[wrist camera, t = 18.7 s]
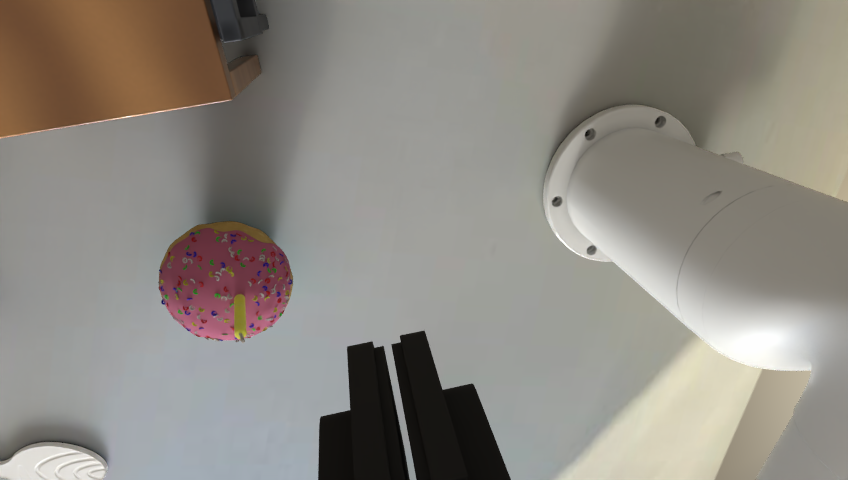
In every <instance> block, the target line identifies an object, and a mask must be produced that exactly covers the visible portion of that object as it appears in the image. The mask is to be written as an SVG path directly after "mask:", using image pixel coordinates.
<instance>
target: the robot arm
mask: <svg viewBox="0 0 848 480" xmlns="http://www.w3.org/2000/svg"><path fill="white" fill-rule="evenodd" d="M587 130H588V133H587V135H585V132H586V131H587ZM554 197H556V198H555V200H553V201H552V199H553V198H554ZM543 204H544V209H545V214H546V218H547V220H548V222H549V225H550V227H551V229H552V230H553V232H554V233H555V235H556V236H557V237H558V239H559V240H560V241H561V242H562V243H564V244H565V245H566V247H568V248H569V249H570V250H572V251H573V252H575V253H576V254H578V255H580V256H582V257H585V258H587V259H591V260H597V261H613V262H614V263H615V264H617V265H618V266H619V267H620V268H621V269H622V270H623V271H624V272H626V273H627V274H628V275H629V276H630V277H631V278H632V279H634V280H635V281H636V282H637V283H638V284H639V285H640V286H641V287H643V288H644V289H645V290H646V291H647V292H648V293H649V294H650V295H652V296H653V297H654V298H655V299H656V300H657V301H658V302H660V303H661V304H662V305H663V306H664V307H665V308H666V309H667V310H669V311H670V312H671V313H672V314H673V315H674V316H675V317H677V318H678V319H679V320H680V321H681V322H682V323H683V324H684V325H686V326H687V327H688V328H689V329H690V330H691V331H693V332H694V333H695V334H696V335H697V336H698V337H700V338H701V339H702V340H703V341H704V342H705V343H707V344H708V345H709V346H710V347H712V348H713V349H714V350H716V351H717V352H719V353H720V354H722V355H724V356H726V357H728V358H729V359H731V360H734V361H736V362H739V363H742V364H745V365H748V366H751V367H756V368H762V369H771V370H782V371H804V370H805V371H806V370H811V375H810V378H809V381H808V384H807V386H806V388H805V390H804V392H803V394H802V396H801V397H800V399H799V401H798V403H797V405H796V406H795V408H794V412H793V416H792V418H791V420H790V421H789V423H788V425H787V426H786V428H785V430H784V431H783V433H782V435H781V437H780V438H779V440H778V442H777V443H776V445H775V447H774V448H773V450H772V452H771V453H770V455H769V457H768V458H767V460H766V462H765V463H764V465H763V467H762V468H761V470H760V472H759V474H758V475H757V477H756V479H755V480H848V202H846V201H843V200H840V199H837V198H834V197H832V196H829V195H826V194H824V193H821V192H818V191H815V190H813V189H810V188H807V187H804V186H801V185H799V184H796V183H793V182H791V181H788V180H785V179H783V178H780V177H777V176H774V175H772V174H769V173H766V172H764V171H761V170H758V169H756V168H753V167H750V166H748V165H745V164H743V157H742V155H741V154H740V153H739V152H732V153H726V154H721V155H718V154H715V153H712V152H710V151H707V150H704V149H702V148H699V147H696V145H695V142H694V140H693V138H692V137H691V135H690V133H689V131H688V130H687V129H686V128H685V126H684V125H683V124H682V123H681V122H680V121H679V120H678V119H676V118H675V117H673V116H672V115H670V114H669V113H667V112H664V111H661V110H659V109H656V108H653V107H648V106H644V105H622V106H617V107H612V108H609V109H606V110H604V111H601V112H599V113H597V114H595V115H593V116H592V117H590V118H588V119H586V120H585V121H583V122H582V123H581V124H580V125H579V126H577V127H576V128H575V129H574V130H573V131H572V132H570V134H569V135H568V136H567V137H566V138H565V140H564V141H563V142H562V143H561V144H560V146H559V148H558V149H557V151H556V153H555V154H554V156H553V158H552V160H551V162H550V165H549V168H548V170H547V173H546V177H545V182H544V188H543ZM400 339H401V343H396V344H391V345H392V350H393V355H394V361H395V366H396V371H397V377H398V382H399V388H400V393H401V398H402V404H403V409H404V414H405V420H406V425H407V430H408V436H409V441H410V446H411V452H412V457H413V463H414V468H415V473H416V479H417V480H511V479H510V476H509V474H508V471H507V469H506V466H505V464H504V461H503V458H502V456H501V453H500V451H499V448H498V445H497V443H496V440H495V438H494V435H493V433H492V430H491V427H490V425H489V422H488V420H487V417H486V414H485V412H484V409H483V407H482V404H481V402H480V399H479V396H478V394H477V391H476V389H475V387H474V385H473V384H468V385H463V386H459V387H454V388H450V389H445V390H442V387H441V384H440V381H439V377H438V374H437V370H436V367H435V364H434V360H433V357H432V354H431V350H430V347H429V344H428V340H427V337H426V334H425V331H420V332H415V333H410V334H406V335H401V336H400ZM347 354H348V373H349V391H350V410H349V411H345V412H340V413H336V414H331V415H326V416H322V417H321V418H320V428H319V471H318V480H410V479H409V473H408V467H407V462H406V456H405V450H404V445H403V440H402V435H401V430H400V425H399V420H398V415H397V410H396V405H395V400H394V395H393V390H392V385H391V380H390V375H389V371H388V366H387V361H386V356H385V351H384V346H381V347H377V348H374V345H373V342H367V343H362V344H358V345H353V346H348V347H347Z"/></svg>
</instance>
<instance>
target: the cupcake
mask: <svg viewBox="0 0 848 480" xmlns="http://www.w3.org/2000/svg"><path fill="white" fill-rule="evenodd" d="M159 271H160V272H159V282H158V283H159V290H160V293H161V296H162V298H163V300H162V304H165V305H166V307H167V309H168V311H169V313H170V314H171V315H172V317H173V318H174V320H176V321H177V322H178V323H179V324H181V325H182V326H183V327H184V328H186V329H187V330H188V331H190V332H191V333H192V334H194V335H196V336H198V337H205V338H206V339H207V340H209V339H208V338H210V339H212V340H215V341H223V340H236V342H238V341H239V340H240V341H241V342H242V343H244V342H245V340H244V338H251V336H254V335H256V334H258V333H260V332H262V331H265V330H266V329H267V328H269V327H273V326H272V325H273V324H274V323H275V322H276V321H277V320H278V319H279V318H280V317H281V315H282V314H283V312H284V310H285V308H286V306H287V304H288V302H289V299H290V296H291V291H292V286H293V276H292V272H291V269H290V266H289V262H288V259H287V257H286V255H285V254H284V252H283V251H282V250H281V249H280V248H279V247H278V246H277V245H276V244H275V243H274V242H273V241H272V240H271V239H270V238H269V237H268V236H267V235H266V234H265V233H264V232H262V231H261V230H259V229H256V228H253V227H250V226H248V225H245V224H242V223H239V222H235V221H225V222H216V223H211V224H201V225H197V226H195V227H193V228H192V229H190V230H189V231H187V232H186V233H185V234H183V235H182V236H181V237H179V238H178V239H176V240H175V241H174V242H173V243H172V244H171V245H170V247H169V248H168V250H167V252H166V255H165V257H164V259H163V261H162V263H161V266H160V270H159ZM163 302H164V303H163Z"/></svg>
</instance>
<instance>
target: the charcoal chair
mask: <svg viewBox="0 0 848 480" xmlns="http://www.w3.org/2000/svg"><path fill="white" fill-rule="evenodd" d="M210 3H211V7H212V10H213V14H214V18H215V21H216V25H217V28H218V32H219V36H220V39H221V40H223V42H224V43H228V42H234V41H241V40H244V39H247V38H250V37H253V36H256V35H259V34H262V33H263V30H267V29H269V25H268V21H267V17H266V14H258V10H257V6H256V2H255V0H210Z"/></svg>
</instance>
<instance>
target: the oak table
mask: <svg viewBox="0 0 848 480" xmlns="http://www.w3.org/2000/svg"><path fill="white" fill-rule="evenodd" d="M260 74H261V68H260V64H259V60H258V56H257V55H250V56H244V57H239V58H237V59H235V60H233V61H231V62H230V63H228V64H227V61H226V58H225V54H224V50H223V47H222V43H221V39H220V36H219V32H218V28H217V25H216V21H215V18H214V14H213V10H212V7H211V3H210V0H0V138H6V137H12V136H18V135H24V134H30V133H36V132H42V131H49V130H55V129H61V128H67V127H73V126H79V125H85V124H91V123H98V122H104V121H110V120H116V119H122V118H128V117H134V116H141V115H147V114H153V113H159V112H165V111H171V110H177V109H184V108H190V107H196V106H202V105H208V104H214V103H220V102H226V101H231V100H233V99H234V98H235V97H236V96H237V95H238V94H239V93H240V92H241V91H242V90H243V89H245V88H246V87H247V86H248V85H249V84H250V83H251V82H252V81H253V80H254V79H255V78H256V77H258V76H259V75H260Z"/></svg>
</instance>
